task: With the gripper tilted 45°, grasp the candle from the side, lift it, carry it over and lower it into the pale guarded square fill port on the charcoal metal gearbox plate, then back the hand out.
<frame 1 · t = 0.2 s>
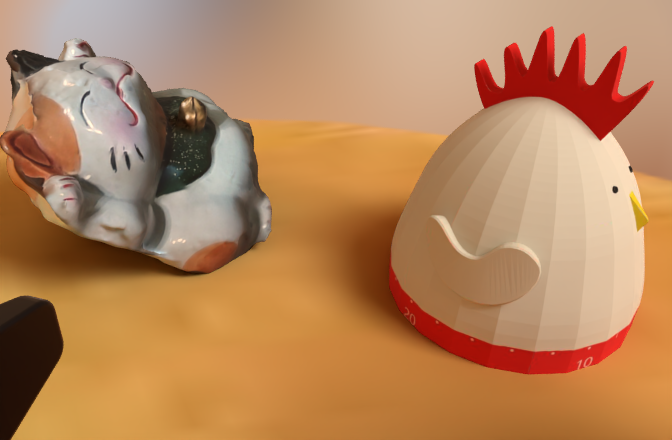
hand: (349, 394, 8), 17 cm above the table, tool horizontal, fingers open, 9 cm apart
lucky cat figurine: (162, 233, 40), on the table
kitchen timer: (505, 288, 36), on the table
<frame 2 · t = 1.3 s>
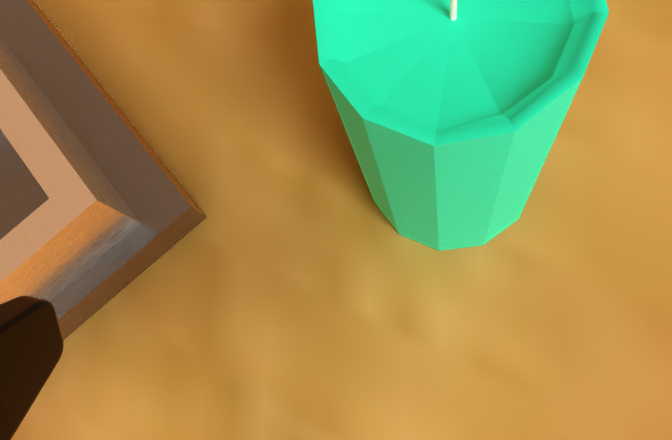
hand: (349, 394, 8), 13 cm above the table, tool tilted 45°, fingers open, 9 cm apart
candle: (449, 173, 23), on the table
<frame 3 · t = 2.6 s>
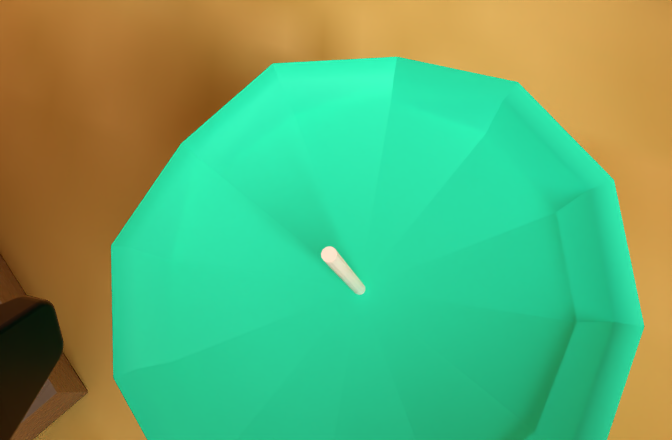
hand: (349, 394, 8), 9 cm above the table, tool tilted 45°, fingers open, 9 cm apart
candle: (408, 344, 17), on the table
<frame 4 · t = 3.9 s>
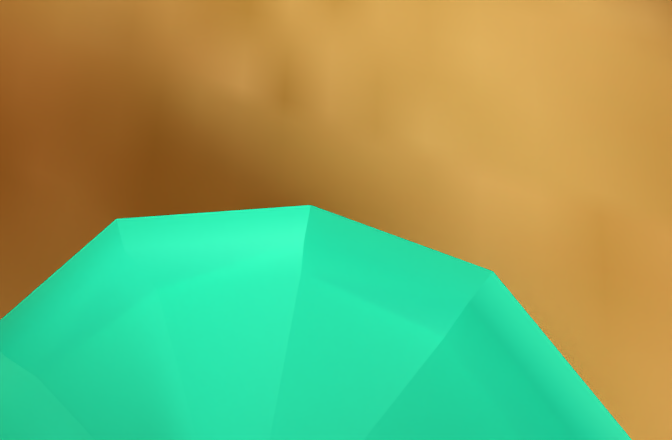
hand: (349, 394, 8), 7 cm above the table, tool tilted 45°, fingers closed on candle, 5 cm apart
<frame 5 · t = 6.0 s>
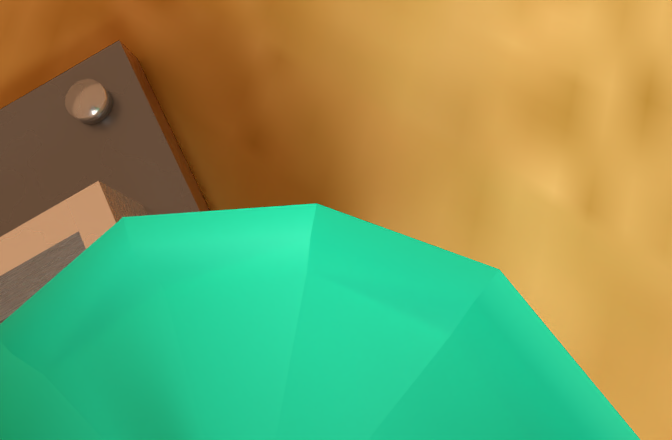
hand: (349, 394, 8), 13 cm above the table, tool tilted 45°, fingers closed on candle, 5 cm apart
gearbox: (92, 403, 22), on the table
when the fingers open (9 cm above the table, at t = 8.2 s): candle drops 1 cm, resting on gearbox.
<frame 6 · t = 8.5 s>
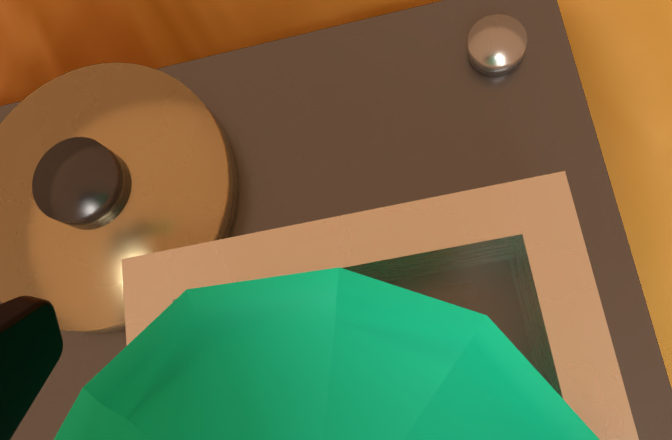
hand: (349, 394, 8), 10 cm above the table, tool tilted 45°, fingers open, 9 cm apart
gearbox: (390, 437, 17), on the table
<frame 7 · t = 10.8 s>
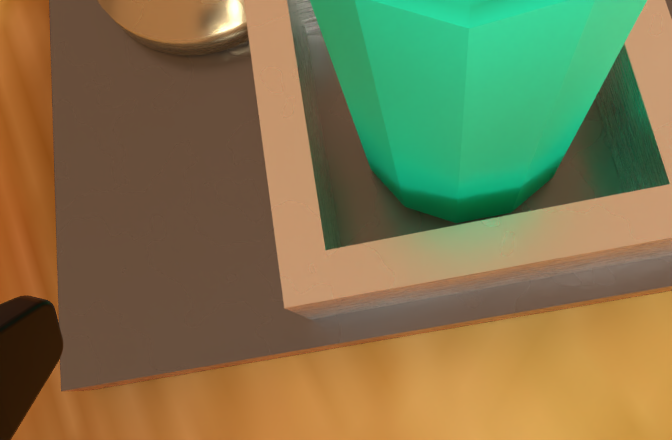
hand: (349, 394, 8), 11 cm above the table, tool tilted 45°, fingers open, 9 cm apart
candle: (462, 127, 18), point 1 cm above the table, touching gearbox
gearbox: (454, 135, 20), on the table
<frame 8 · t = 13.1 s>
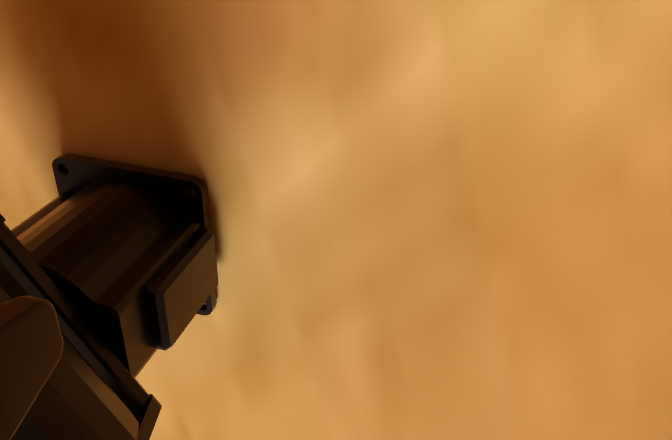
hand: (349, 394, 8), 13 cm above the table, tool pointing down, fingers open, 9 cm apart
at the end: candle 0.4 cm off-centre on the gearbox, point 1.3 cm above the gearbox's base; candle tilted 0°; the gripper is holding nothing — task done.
